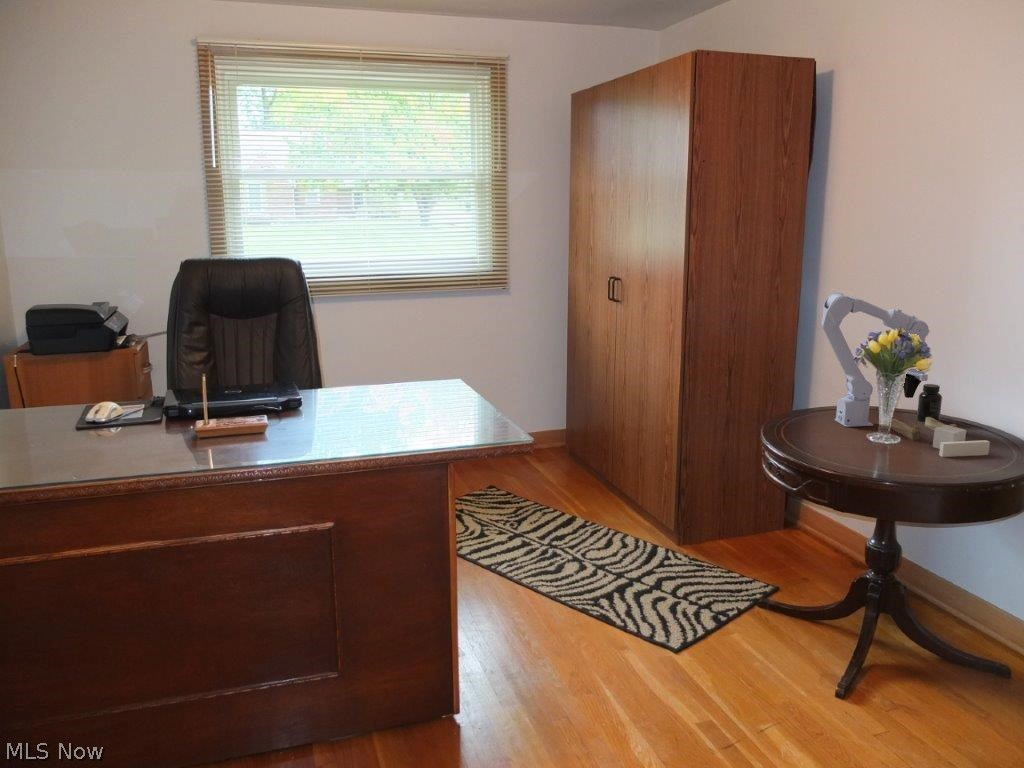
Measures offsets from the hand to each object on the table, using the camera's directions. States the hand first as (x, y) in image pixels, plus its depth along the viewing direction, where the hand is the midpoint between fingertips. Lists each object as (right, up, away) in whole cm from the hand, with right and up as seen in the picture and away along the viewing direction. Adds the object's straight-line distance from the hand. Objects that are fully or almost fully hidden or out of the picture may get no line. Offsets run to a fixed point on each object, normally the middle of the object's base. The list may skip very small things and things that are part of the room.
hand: (908, 397), depth 257 cm
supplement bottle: (+10, -8, +7) cm, 14 cm away
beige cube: (+2, -15, -20) cm, 25 cm away
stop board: (+3, -16, -27) cm, 31 cm away
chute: (+1, -11, -6) cm, 13 cm away
